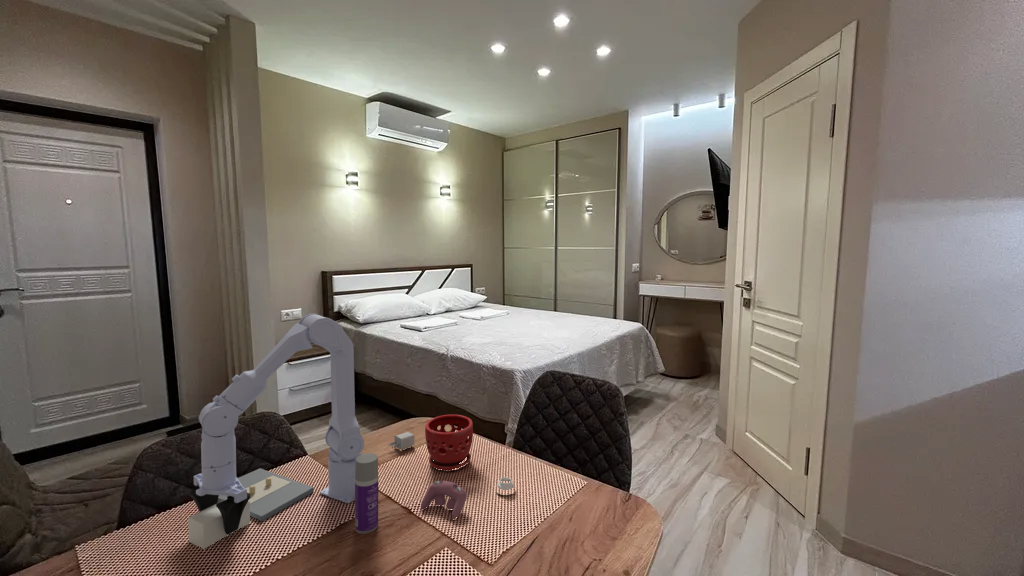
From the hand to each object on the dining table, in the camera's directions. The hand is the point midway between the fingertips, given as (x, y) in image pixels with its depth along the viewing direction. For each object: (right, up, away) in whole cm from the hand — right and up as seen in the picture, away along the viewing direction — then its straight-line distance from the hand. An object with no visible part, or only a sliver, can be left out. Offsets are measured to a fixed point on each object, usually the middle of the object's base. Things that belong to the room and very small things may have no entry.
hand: (220, 525), depth 86 cm
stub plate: (0, -1, +14) cm, 14 cm away
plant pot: (+42, -1, +31) cm, 52 cm away
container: (+29, -2, +3) cm, 29 cm away
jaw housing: (0, -1, 0) cm, 1 cm away
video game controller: (+44, -2, +10) cm, 45 cm away
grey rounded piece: (+58, -2, +18) cm, 61 cm away
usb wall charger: (+26, 0, +40) cm, 48 cm away
